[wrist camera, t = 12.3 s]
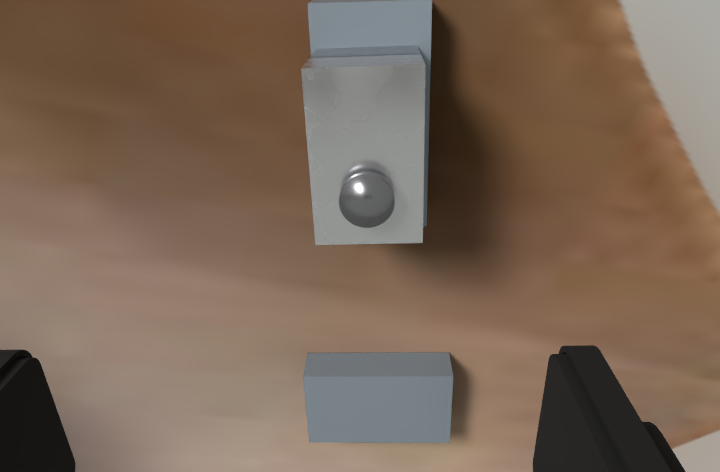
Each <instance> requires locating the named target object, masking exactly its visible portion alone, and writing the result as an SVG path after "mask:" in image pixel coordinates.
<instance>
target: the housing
mask: <svg viewBox="0 0 720 472" xmlns="http://www.w3.org/2000/svg"><path fill="white" fill-rule="evenodd" d="M301 73H302V85H303V97H304V110H305V122H306V134H307V146H308V159H309V171H310V183H311V195H312V208H313V220H314V232H315V245H334V244H391V243H423V198H424V131H425V62H424V60H423V58H422V56H421V53H420V51H419V49H418V47H417V45H408V46H379V47H350V48H321V49H316V50H315V51H314V53H313V54H312V55H311V56H310V58H309V59H308V60H307V62H306V63H305V64H304V65H303V67H302V68H301Z"/></svg>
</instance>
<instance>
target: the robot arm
mask: <svg viewBox="0 0 720 472" xmlns="http://www.w3.org/2000/svg"><path fill="white" fill-rule="evenodd" d="M0 472H75V460H74V457H73V454H72V451H71V449H70V446H69V443H68V440H67V437H66V434H65V432H64V429H63V426H62V423H61V420H60V417H59V415H58V412H57V409H56V406H55V403H54V400H53V398H52V395H51V392H50V389H49V386H48V383H47V381H46V378H45V375H44V372H43V369H42V366H41V364H40V362H39V360H38V359H36V358H33V357H32V356H31V354H30V353H29V352H28V351H26V350H0ZM533 472H685V470H684V469H683V467H682V465H681V464H680V462H679V460H678V459H677V457H676V456H675V454H674V453H673V451H672V449H671V448H670V446H669V444H668V443H667V441H666V439H665V438H664V436H663V435H662V433H661V432H660V431H659V429H658V428H657V427H656V426H655V425H654V424H652V423H651V422H642V421H641V419H640V418H639V416H638V414H637V413H636V411H635V409H634V407H633V406H632V404H631V402H630V401H629V399H628V397H627V396H626V394H625V392H624V391H623V389H622V387H621V385H620V384H619V382H618V380H617V379H616V377H615V375H614V374H613V372H612V370H611V369H610V367H609V365H608V363H607V362H606V360H605V358H604V357H603V355H602V353H601V352H600V350H599V349H598V348H597V347H596V346H562V347H561V349H560V351H559V354H552V355H551V356H550V357H549V362H548V368H547V375H546V381H545V388H544V394H543V400H542V407H541V413H540V420H539V426H538V432H537V439H536V445H535V452H534V458H533Z"/></svg>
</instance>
